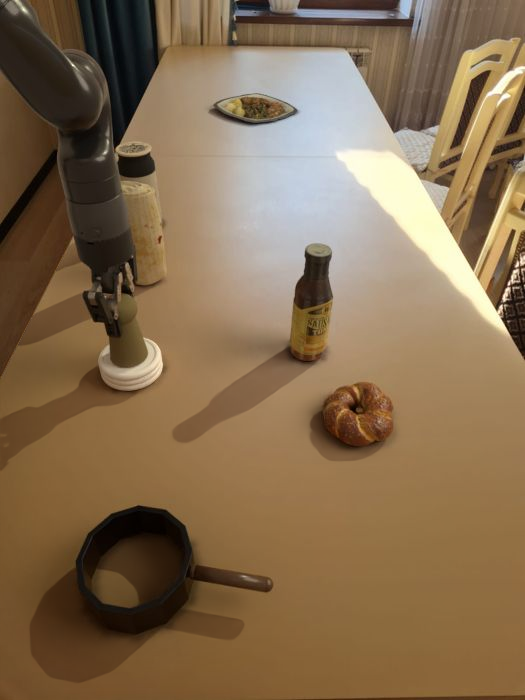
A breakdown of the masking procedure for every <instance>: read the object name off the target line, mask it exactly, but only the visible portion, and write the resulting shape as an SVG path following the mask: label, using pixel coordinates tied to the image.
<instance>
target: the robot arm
mask: <svg viewBox="0 0 525 700" xmlns="http://www.w3.org/2000/svg"><path fill="white" fill-rule="evenodd" d="M0 73H1V75H2V76H3V77H4V79H5V80H6V81H7V82H8V83H9V85H10V86H11V87H12V88H13V89H14V91H15V92H16V93H17V94H18V95H19V97H20V98H21V99H22V100H23V101H24V102H25V103H26V104H27V106H28V107H29V108H30V109H31V110H32V111H33V112H34V113H35V114H36V115H37V116H38V117H39V118H40V119H42V120H43V121H44V122H46V123H47V124H49V125H50V126H52V127H53V128H55V129H56V133H57V136H58V148H57V155H56V161H57V168H58V173H59V177H60V181H61V185H62V189H63V193H64V196H65V203H66V212H67V217H68V221H69V224H70V229H71V232H72V237H73V240H74V244H75V248H76V252H77V256H78V258H79V260H80V261H81V263H82V264H84V265H85V266H87V267H88V268H89V269H90V272H91V273H90V274H91V277H90V279H91V283H92V285H91V288H90V290H83V292H82V299H83V301H84V304H85V306H86V308H87V310H88V314H89V315H90V318H91V319H92V322H93V323H101V324H103V325H104V329H105V332H106V335H107V337H108V338H109V337H114V338H120V337H121V336H122V334H123V332H122V328H121V323H120V319H119V316H118V303H119V302H121V293H124V294H128V295H130V296H131V297H133V298H134V299H135V297H134V292H135V284H134V283H135V282H137V280H138V274H137V261H136V248H135V245H134V243H133V237H132V232H131V226H130V220H129V215H128V209H127V204H126V201H125V198H124V195H123V191H122V186H121V181H120V175H119V169H118V165H117V162H118V159H117V157H116V151H115V147H114V141H113V140H114V136H113V134H114V133H113V119H112V107H111V100H110V92H109V86H108V81H107V78H106V76H105V73H104V71H103V69H102V68H101V66H100V64H99V63H98V62H97V61H96V60H95V59H94V58H93V57H92V56H91V55H89V54H88V53H86V52H84V51H82V50H80V49H75V48H65V49H62V50H61V48H60V47H59V46H58V45H57V44H56V42H54V40H53V39H51V37H50V36H49V35H48V34H47V33H46V32H45V31H44V29H43V28H42V27H41V24H40V20H39V16H38V13H37V12H36V10H35V9H34V7H33V6H32V4H31V3H30V2H29V1H28V0H0ZM129 268H131V271H130V269H129ZM131 273H132V274H131ZM113 294H114V297H110V295H113ZM107 295H108V296H107ZM108 304H111V306H112V311H111V310H110V309H109V306H108Z"/></svg>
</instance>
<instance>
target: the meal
mask: <svg viewBox="0 0 525 700" xmlns="http://www.w3.org/2000/svg"><path fill="white" fill-rule="evenodd" d="M212 106H213V107H214V108H215V109H218V110H219V111H220V112H221V113H222V114H224V115H227V116H230V117H233V118H236V119H239V120H242V121H245V122H248V123H254V124H255V123H257V124H258V123H267V122H277V121H279V120H281V119H286V118H288V117H290V116H293V115H294V114H296V113H297V112H299V111H298V109H297V108H296V107H295V106H293V105H291V104H290V103H288V102H286V101H284V100H282V99H280V98H276V97H273V96H270V95H266V94H264V93H259V92H254V93H247V94H241V95H236V96H231V97H230V96H229V97H226V98H223V99H220V100H217V101H216V102H214V103H213V105H212Z"/></svg>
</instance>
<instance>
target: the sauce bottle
mask: <svg viewBox="0 0 525 700" xmlns="http://www.w3.org/2000/svg"><path fill="white" fill-rule="evenodd" d="M332 258H333V250H332V247H330V246H329V245H327V244H324V243H318V242H313V243H310V244H308V245H307V246H306V247H305V249H304V259H305V261H304V268H303V274H302V275H301V276H300V278H299V279H298V280H297V282H296V284H295V288H294V296H293V302H292V312H291V313H292V314H291V324H290V334H289V335H290V336H289V344H290V345H289V351H290V353H291V354H292V356H293V357H294V358H296V359H298V360H300V361H305V362H312V361H317V360H319V359H321V358H322V356H323V355H324V353H325V352H326V348H327V344H328V337H329V332H330V331H329V330H330V323H331V316H332V310H333V309H332V308H333V303H334V302H333V301H334V295H333V290H332V287H331V282H330V276H329V275H330V271H329V270H330V262H331V260H332Z"/></svg>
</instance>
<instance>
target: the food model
mask: <svg viewBox="0 0 525 700" xmlns="http://www.w3.org/2000/svg"><path fill="white" fill-rule="evenodd" d="M121 186H122V191H123V195H124V198H125V201H126V204H127V209H128V215H129V220H130V226H131V232H132V237H133V243H134V245H135V248H136V261H137V274H138V280H137V282H134V283H135V284H136V285H139V286H150V285H153V284H154V283H157V282H159V281H161V280H163V279H165V277H166V276H167V273H168V272H167V271H168V270H167V263H166V250H165V249H166V248H165V243H164V242H165V241H164V235H163V224H162V225H161V219H160V214H159V210H158V206H157V202H156V193H155V190H154V188H153V187H152V186H150V185H148V184H142V183H138V182H134V181H121ZM129 269H130V271H131V268H129ZM131 274H132V273H131Z"/></svg>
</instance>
